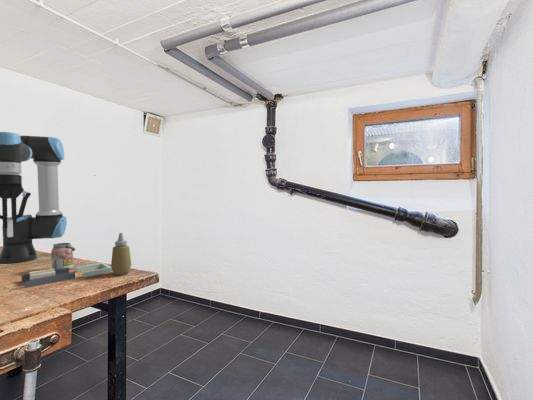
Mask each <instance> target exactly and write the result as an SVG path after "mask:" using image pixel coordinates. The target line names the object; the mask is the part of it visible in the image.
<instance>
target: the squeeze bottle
mask: <svg viewBox="0 0 533 400" xmlns="http://www.w3.org/2000/svg"><path fill="white" fill-rule="evenodd" d="M130 251H131V250H130V246H129V245H128V241H127V240H125V239H124V235H123V232H119V233H118V238H117V240H116V241H114V246H113V247H112V254H111V262H110V263H111V264H110V267H111V268H112V273H113V274H114V275H115V276H123V275H124V276H125V275H127V274H129V273H130V270H131V267H132V259H131V252H130Z"/></svg>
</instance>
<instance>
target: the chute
mask: <svg viewBox="0 0 533 400" xmlns="http://www.w3.org/2000/svg"><path fill="white" fill-rule="evenodd" d="M20 277H21V282H22V283H24V288H31V287H37V286H42V285H47V284H52V283H58V282H62V281H68V280H73V279H76V271H72V272H70V270H69V268H63V269H57V270H55V275H54V276H48V277H42V278H37V279H31V280H30V273H27V274H21V276H20Z"/></svg>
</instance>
